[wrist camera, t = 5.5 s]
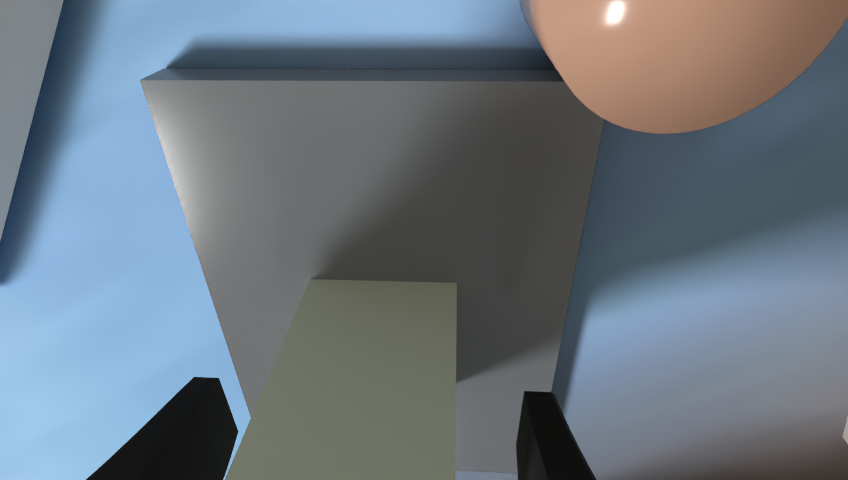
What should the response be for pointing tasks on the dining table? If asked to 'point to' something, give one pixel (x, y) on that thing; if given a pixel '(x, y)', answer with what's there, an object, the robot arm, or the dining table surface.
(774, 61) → the tan sphere
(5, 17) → the crystal
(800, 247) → the dining table surface
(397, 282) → the sage block
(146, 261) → the dining table surface
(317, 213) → the slate board
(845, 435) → the off-white cube
